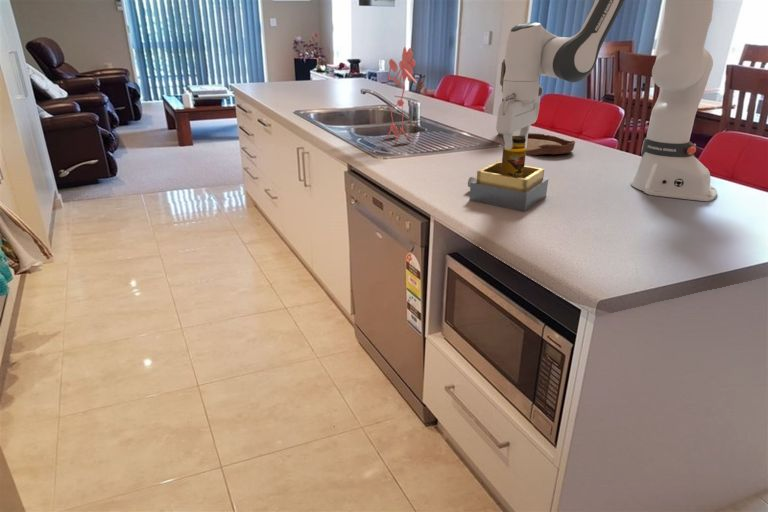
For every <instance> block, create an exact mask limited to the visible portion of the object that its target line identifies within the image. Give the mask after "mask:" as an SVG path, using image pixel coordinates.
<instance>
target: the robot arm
mask: <svg viewBox="0 0 768 512" xmlns="http://www.w3.org/2000/svg"><path fill="white" fill-rule="evenodd" d="M714 1H715V0H665V8H664V18H663V19H664V20H663V27H662V30H661V36H660V38H659V39H660V40H659V44H658V48H657V52H656V53H657V54H656V56H655V57H656V58H655V62H654V64H653V66H652V69H651V77H652V80H653V83H654V84H655V85H656V86H657V87H658V88H660V91H659V94H658V97H657V99H656V102H655V103H654V106H653V108H652V109H651V114H650V117H649V118H650V119H649V123H648V128H647V132H646V137H644V140H643V142H642V147H641V153H640V154H641V155H640V156H641V159H640V161H639V165H638V166H637V169H636V172H635V174H634V177H633V178H632V181H631V182H630V185H631V186H632V187H634V188H635V189H637V190H640V191H641V192H642V191H643V192H644V193H645V194H647V195H650V196H657V197H665V198H673V199H674V198H675V199H683V200H691V201H697V202H699V201H700V202H709V201H713V200H714V199H715V198H716V197H717V195H718V194H717V193H718V190H717V189H716V187H713V186H711V173H710V171H709V169H708V168H707V167H706V166H705V165H704V164H703V163H702V162H701V161H700V160H699V159H698V158H697V157H696V156H695V153H696V152H697V144H696V143H693V142H692V141H690V139H691V135H692V131H693V127H694V122H695V118H696V114H697V111H698V109H699V105H700V103H701V101H702V98H703V97H704V96H703V95H704V93H705V90H706V88H707V87H706V86H707V84H708V80H709V78H710V75H711V71H712V69H713V65H714V59H713V57H712V55H711V53H710V52H709V51H708V50H707V49H706V48H705V43H706V39H707V37H708V36H707V35H708V32H709V31H708V30H709V28H710V25H711V23H712V19H713V12H714V11H713V10H714ZM624 3H625V0H594V2H593V4H592V5H593V6H592V8H591V10H590V11H589V13H588V15H587V17H586V19H585V21H584V22H583V24H582V26H581V28H580V30H579V31H578V32H577V33H576V34H574V35H572V36H570V37H568V36H567V37H563V36H557V35H556V34H553V33H551V32H550V31H548V30H547V29H546V28H544V27H543V25H542V23H540V22H525V23H520V24H516V25H514V27H512V28H511V29H510V30H509V33H508V36H507V41H506V46H505V55H504V59H505V65H506V72H505V75H504V80H503V93H502V95H501V99H502V98H503V99H504V101H503V102H502V101H501V103H500V104H499V107H498V111H497V118H496V126H495V129H496V132H497V134H498V133H501V134H503V137H502V138H503V141H504V146H505V149H512V148H513V142H512V136H513V132H515V131H517V130H520V129H521V131H520V135H519V136H521V137H524V138H525V139H526V138H527V134H528V133H529V131H530V126H531V125H533V124H535V123H536V121H537V120H538V118H539V113H540V111H539V110H540V103H541V96H543V94H544V88H543V87H542V86H541V85H540V84H539V83H540V76H543V77H549V78H554V79H560V80H563V81H566V82H569V83H578V82H581V81H583V80H585V79H586V78H587V77H588V76H590V74H591V73H592V71H593V70H594V68H595V65H596V64H597V60H598V57H599V54H600V51H601V48H602V46H603V43H604V41H605V40H606V37H607V36H608V34H609V32H610V30H611V29H612V26H613V24H614V22H615V20H616V18H617V17H618V14H619V13H620V10H621V8H622V7H623V5H624ZM525 142H526V141H525Z"/></svg>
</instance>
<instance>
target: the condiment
mask: <svg viewBox="0 0 768 512" xmlns="http://www.w3.org/2000/svg"><path fill="white" fill-rule="evenodd" d="M525 141H526V139H525V138H524V137H521V136H512V142H513V148H512V149H505V145H504V146H503V149H502V157H501V162H502V166H501V174H502V175H508V176H513V177H519V178H523V173H524V166H525V165H524V164H526V156H527V154H526V148H525ZM525 155H526V156H525Z"/></svg>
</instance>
